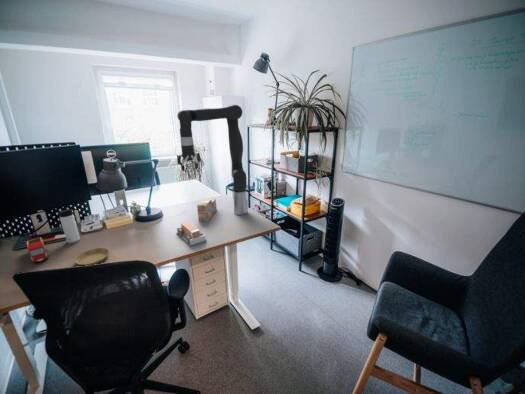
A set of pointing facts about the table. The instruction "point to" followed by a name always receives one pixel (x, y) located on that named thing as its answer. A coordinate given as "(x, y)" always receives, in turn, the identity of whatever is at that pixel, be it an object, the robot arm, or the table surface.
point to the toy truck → (37, 250)
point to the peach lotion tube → (190, 230)
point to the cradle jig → (188, 240)
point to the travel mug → (69, 226)
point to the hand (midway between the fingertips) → (190, 169)
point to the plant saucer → (92, 256)
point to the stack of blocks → (206, 209)
